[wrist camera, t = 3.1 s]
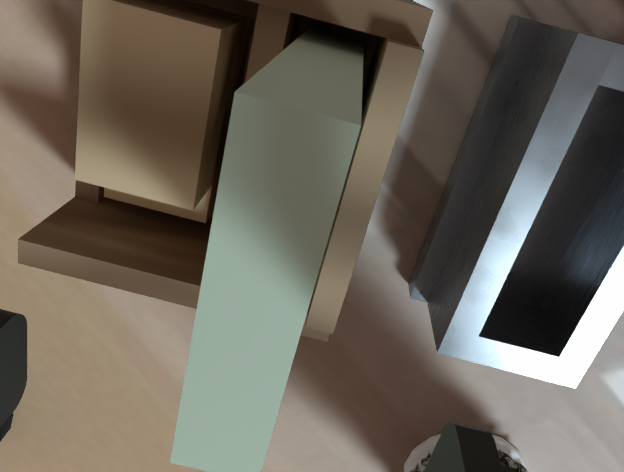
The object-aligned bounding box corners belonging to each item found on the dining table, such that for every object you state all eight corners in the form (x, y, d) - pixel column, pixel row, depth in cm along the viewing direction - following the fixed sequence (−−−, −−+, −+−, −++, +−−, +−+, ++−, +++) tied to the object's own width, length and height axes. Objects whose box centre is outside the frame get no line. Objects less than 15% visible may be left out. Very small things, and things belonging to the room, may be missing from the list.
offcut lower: (146, -11, 24) (118, -9, 21) (253, 18, 24) (239, 23, 22) (128, 175, 28) (103, 196, 25) (220, 200, 28) (205, 223, 26)
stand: (511, 15, 25) (552, 25, 19) (696, 66, 25) (788, 90, 19) (408, 284, 31) (417, 348, 26) (555, 322, 31) (594, 393, 26)
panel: (312, 24, 24) (234, 91, 10) (364, 38, 24) (360, 125, 10) (268, 219, 29) (169, 462, 14) (311, 230, 29) (257, 484, 14)
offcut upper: (118, -9, 21) (83, -8, 19) (239, 23, 22) (221, 29, 19) (106, 157, 25) (74, 179, 22) (211, 185, 25) (192, 210, 22)
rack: (118, -80, 24) (-4, -109, 16) (413, 1, 25) (436, 11, 17) (100, 196, 31) (4, 274, 22) (336, 257, 31) (325, 356, 23)
